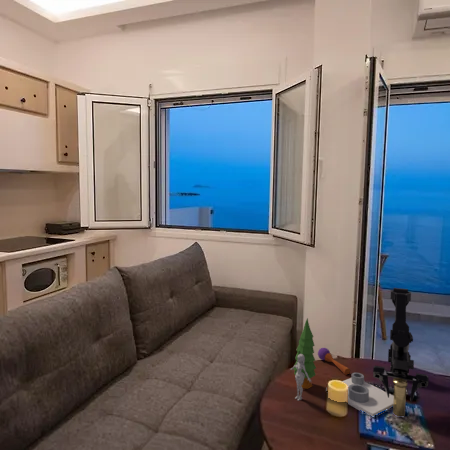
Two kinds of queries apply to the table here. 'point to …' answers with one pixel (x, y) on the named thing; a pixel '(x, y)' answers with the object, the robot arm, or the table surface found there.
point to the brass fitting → (399, 396)
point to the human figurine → (300, 374)
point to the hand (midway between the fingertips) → (399, 399)
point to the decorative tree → (306, 354)
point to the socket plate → (367, 395)
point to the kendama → (331, 360)
